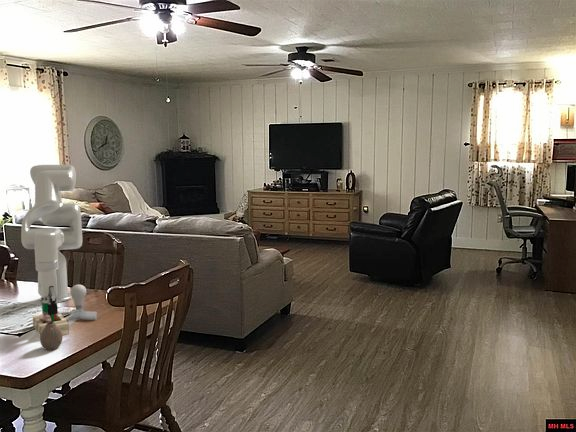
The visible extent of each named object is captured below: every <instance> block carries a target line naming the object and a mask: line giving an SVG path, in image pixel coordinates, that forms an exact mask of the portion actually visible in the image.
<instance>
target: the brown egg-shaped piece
mask: <svg viewBox="0 0 576 432" xmlns="http://www.w3.org/2000/svg"><path fill="white" fill-rule="evenodd" d="M63 336H64V335H62V332H61V330H60V328H59V327H58V326H56V324H55V323H54V322H48V323H47V324H46V326H45V328H44V329H43V330H42V332H41V335H39V341H40V345H41V347H42V348H43V349H44V350H47V351H54V350H56V349H58V348H60V346H61V345H62V343H63Z"/></svg>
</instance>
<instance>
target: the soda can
mask: <svg viewBox="0 0 576 432" xmlns="http://www.w3.org/2000/svg"><path fill="white" fill-rule="evenodd" d="M49 299H50V298H49ZM47 304H48V300H47V298H44V299H43V301H41V309H42V310H41V313H42V315H43V324H44V323H48V322H55V321H58V313H57V314H53V315H48V308H47Z"/></svg>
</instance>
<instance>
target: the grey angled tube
mask: <svg viewBox="0 0 576 432" xmlns="http://www.w3.org/2000/svg"><path fill="white" fill-rule="evenodd" d="M65 320H66V321H67V322H68V323H69V326H71V325H72V324H74V322H77V321H78V320H85V321H86V320H87V321H97V320H98V311H90V310H89V311H88V310H85V309H84V308H82V309H77V310H76V309H73V310H69V315H67V316H66V317H65Z"/></svg>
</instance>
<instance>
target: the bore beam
mask: <svg viewBox="0 0 576 432" xmlns="http://www.w3.org/2000/svg"><path fill="white" fill-rule="evenodd" d="M54 323H55V324H56V326H58V327H59V328H60V330H61V332H62V336H65V335H69V334H70V325H69V323H68V322H67V321H66V317H64V316H63V315H62V314H61V312H60V311H58V321H55V322H54ZM32 324H33V325H32V327H33V328H34V329H35V330H36V332H37V334H38V335H39V336H40V335H41V332H42V330H43V329H44V328H45V326H46V324H47V323H44V324H43V315H42V314H37V315H32Z"/></svg>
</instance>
